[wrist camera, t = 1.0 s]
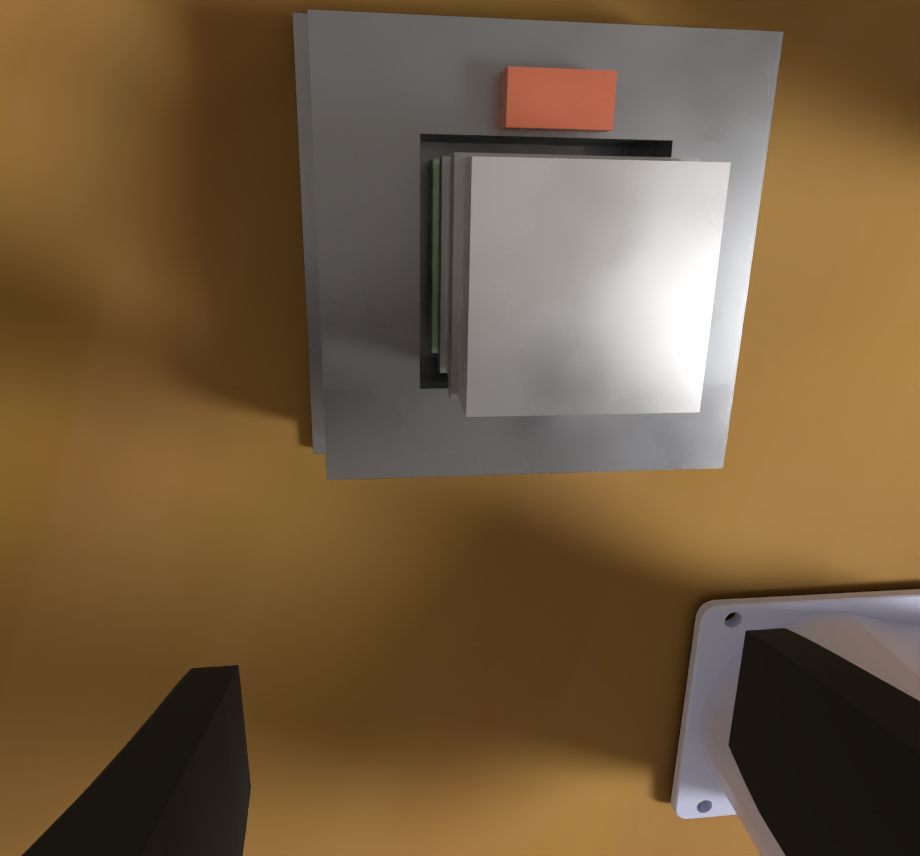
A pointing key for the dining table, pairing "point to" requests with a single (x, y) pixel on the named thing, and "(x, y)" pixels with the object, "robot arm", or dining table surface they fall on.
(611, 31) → the stand base
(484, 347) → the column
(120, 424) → the dining table surface
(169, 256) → the dining table surface
